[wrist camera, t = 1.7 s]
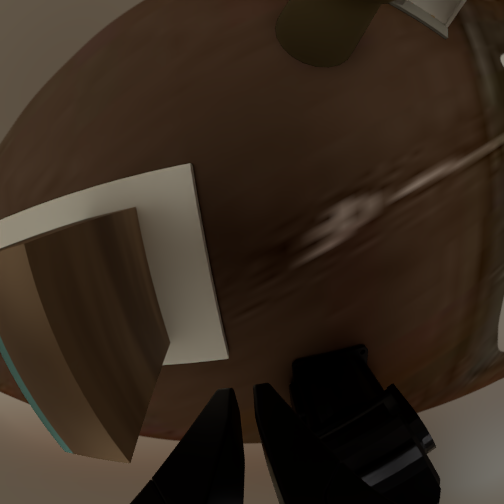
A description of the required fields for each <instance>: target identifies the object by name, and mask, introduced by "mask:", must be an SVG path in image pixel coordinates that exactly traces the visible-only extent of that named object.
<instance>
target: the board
mask: <svg viewBox="0 0 504 504" xmlns="http://www.w3.org/2000/svg"><path fill="white" fill-rule="evenodd" d="M132 207H136V210H137V215H138V220H139V225H140V230H141V235H142V239H143V244H144V248H145V253H146V257H147V261H148V265H149V270H150V274H151V277H152V281H153V285H154V289H155V293H156V296H157V300H158V303H159V307H160V310H161V314H162V317H163V320H164V324H165V327H166V330H167V333H168V337H169V340H170V345H169V348H168V351H167V353H166V356H165V359H164V362H163V365H170V364H183V363H194V362H204V361H213V360H222V359H229V350H228V346H227V342H226V337H225V333H224V328H223V324H222V319H221V315H220V310H219V306H218V301H217V296H216V292H215V287H214V282H213V277H212V272H211V267H210V262H209V257H208V251H207V246H206V241H205V236H204V230H203V225H202V219H201V213H200V208H199V202H198V196H197V190H196V184H195V177H194V171H193V165H192V164H191V163H189V164H184V165H179V166H174V167H169V168H165V169H160V170H156V171H152V172H147V173H143V174H139V175H135V176H131V177H127V178H123V179H120V180H116V181H112V182H109V183H105V184H102V185H98V186H95V187H91V188H88V189H85V190H81V191H78V192H75V193H72V194H69V195H66V196H63V197H60V198H57V199H54V200H51V201H48V202H45V203H43V204H40V205H37V206H34V207H32V208H29V209H27V210H24V211H21V212H19V213H16V214H14V215H11V216H9V217H7V218H4V219H2V220H0V248H3V247H5V246H8V245H10V244H13V243H16V242H18V241H21V240H24V239H27V238H29V237H32V236H35V235H38V234H41V233H44V232H46V231H49V230H52V229H55V228H58V227H61V226H64V225H68V224H71V223H74V222H77V221H80V220H84V219H87V218H91V217H95V216H99V215H103V214H107V213H111V212H115V211H119V210H123V209H128V208H132Z"/></svg>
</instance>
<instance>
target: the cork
mask: <svg viewBox="0 0 504 504" xmlns="http://www.w3.org/2000/svg"><path fill="white" fill-rule="evenodd" d="M392 1H394V0H289V2H288V3H287V5H286V6H285V8H284V10H283V11H282V13H281V14H280V16H279V18H278V20H277V23H276V27H275V29H276V36H277V39H278V41H279V42H280V44H281V46H282V47H283V48H284V49H285V50H286V51H287V52H288V53H289V54H290V55H291V56H292V57H294V58H296V59H298V60H299V61H301V62H303V63H306V64H309V65H312V66H315V67H332V66H337V65H340V64H342V63H343V62H345V61H346V60H348V58H349V57H350V55H351V54H352V52H353V51H354V49H355V47H356V46H357V44H358V42H359V41H360V39H361V37H362V36H363V34H364V32H365V30H366V29H367V27H368V25H369V24H370V22H371V20H372V19H373V17H374V15H375V14H376V12H377V10H378V9H379V7H380V5H381V4H387V3H389V2H392Z"/></svg>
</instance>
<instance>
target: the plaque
mask: <svg viewBox="0 0 504 504" xmlns="http://www.w3.org/2000/svg"><path fill="white" fill-rule="evenodd" d="M169 345H170V340H169V337H168V333H167V330H166V327H165V324H164V320H163V317H162V314H161V310H160V307H159V303H158V300H157V296H156V293H155V289H154V285H153V281H152V277H151V274H150V270H149V265H148V261H147V257H146V253H145V248H144V244H143V239H142V235H141V230H140V225H139V220H138V215H137V210H136V207H132V208H128V209H123V210H119V211H115V212H111V213H107V214H103V215H99V216H95V217H91V218H87V219H84V220H80V221H77V222H74V223H71V224H68V225H64V226H61V227H58V228H55V229H52V230H49V231H46V232H44V233H41V234H38V235H35V236H32V237H29V238H27V239H24V240H21V241H18V242H16V243H13V244H10V245H8V246H5V247H3V248H0V352H1V354H2V356H3V358H4V360H5V362H6V364H7V366H8V368H9V370H10V372H11V374H12V375H13V377H14V379H15V381H16V382H17V384H18V386H19V388H20V389H21V391H22V393H23V394H24V396H25V397H26V399H27V401H28V402H29V404H30V405H31V407H32V408H33V410H34V411H35V413H36V414H37V415H38V417H39V418H40V420H41V421H42V422H43V424H44V425H45V427H46V428H47V429H48V431H49V432H50V433H51V435H52V436H53V437H54V438H55V440H56V441H57V442H58V444H59V445H60V446H61V447H62V448H63V450H64V451H65V452H69V453H73V454H77V455H82V456H88V457H92V458H98V459H103V460H110V461H117V462H124V463H131V459H132V456H133V452H134V449H135V446H136V443H137V439H138V436H139V433H140V430H141V427H142V424H143V421H144V417H145V414H146V411H147V408H148V405H149V402H150V399H151V396H152V393H153V390H154V388H155V385H156V382H157V379H158V376H159V373H160V370H161V367H162V365H163V362H164V359H165V356H166V353H167V351H168V348H169Z"/></svg>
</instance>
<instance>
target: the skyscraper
mask: <svg viewBox="0 0 504 504" xmlns="http://www.w3.org/2000/svg"><path fill="white" fill-rule="evenodd" d="M465 2H466V0H394V1H392V2H389V4H390V5H392V6H394V7H396V8H398V9H399V10H401V11H403V12H405V13H406V14H408V15H410V16H411V17H413V18H415V19H416V20H418V21H419V22H421V23H423V24H424V25H426V26H427V27H429V28H430V29H432V30H433V31H435V32H436V33H437V34H439V35H440V36H442V37H443V38H444V39H447V38H448V26H449V25H450V24H451V22H452V21H453V19H454V18H455V16H456V15H457V13H458V12H459V11H460V9H461V8H462V6H463V5H464V3H465Z"/></svg>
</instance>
